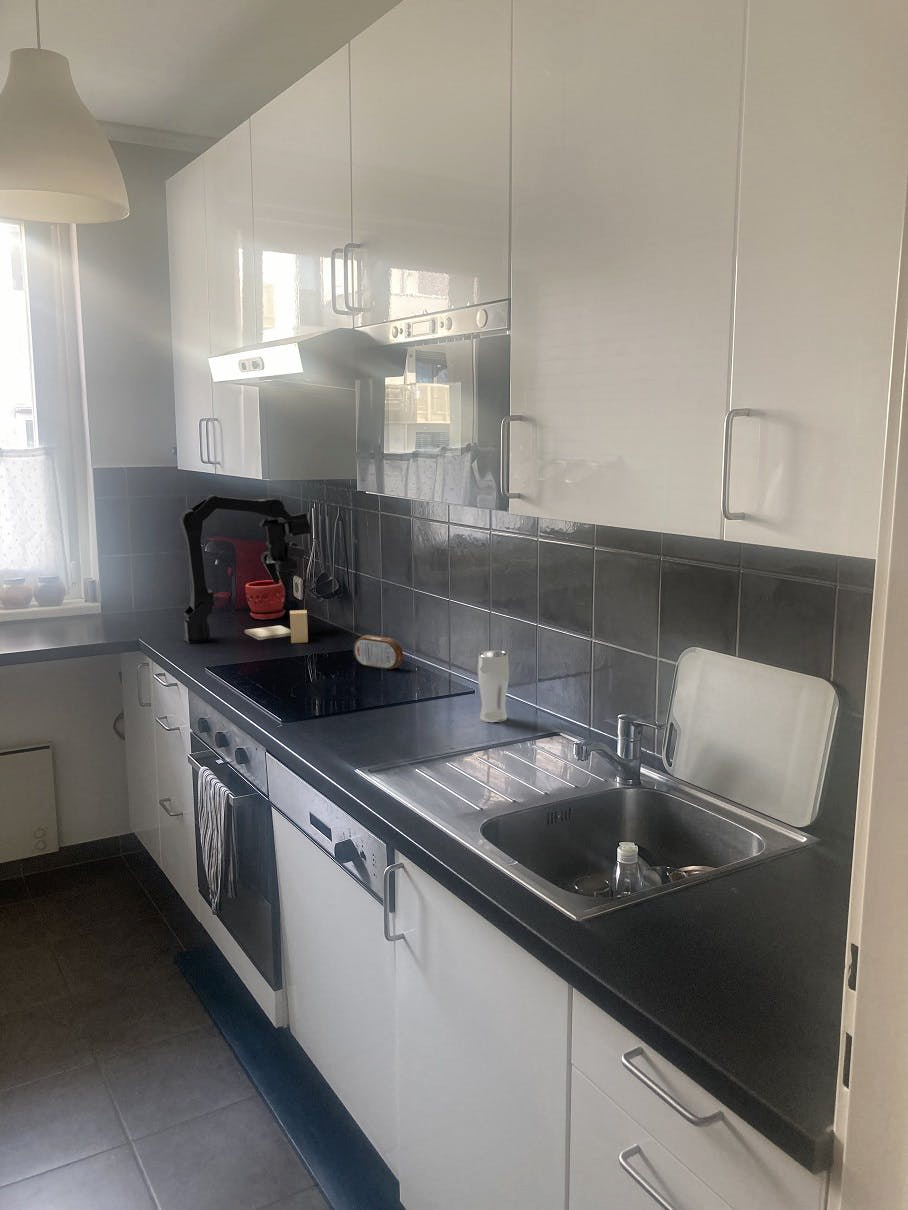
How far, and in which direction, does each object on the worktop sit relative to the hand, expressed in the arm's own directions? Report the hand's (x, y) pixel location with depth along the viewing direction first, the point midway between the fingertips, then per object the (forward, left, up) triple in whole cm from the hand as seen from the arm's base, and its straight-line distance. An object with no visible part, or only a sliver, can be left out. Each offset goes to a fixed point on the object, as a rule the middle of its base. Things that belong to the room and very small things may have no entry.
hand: (281, 587), depth 313 cm
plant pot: (+4, +24, -14) cm, 28 cm away
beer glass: (+4, -114, -14) cm, 115 cm away
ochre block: (-1, -16, -14) cm, 21 cm away
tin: (+4, -58, -14) cm, 60 cm away
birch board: (-5, -2, -14) cm, 15 cm away
